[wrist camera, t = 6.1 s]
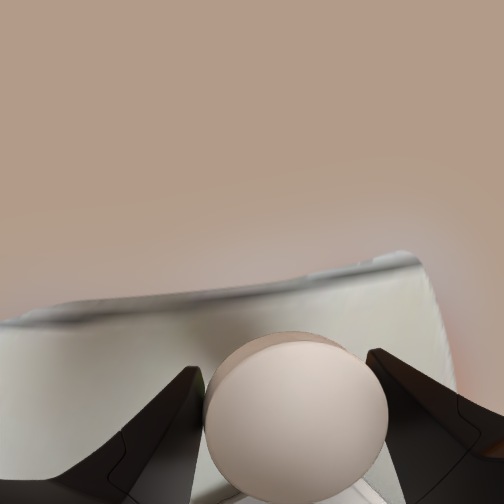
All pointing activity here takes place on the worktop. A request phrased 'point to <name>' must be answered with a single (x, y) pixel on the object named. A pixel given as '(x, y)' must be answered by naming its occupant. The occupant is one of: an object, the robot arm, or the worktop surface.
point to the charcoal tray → (350, 500)
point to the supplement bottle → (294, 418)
